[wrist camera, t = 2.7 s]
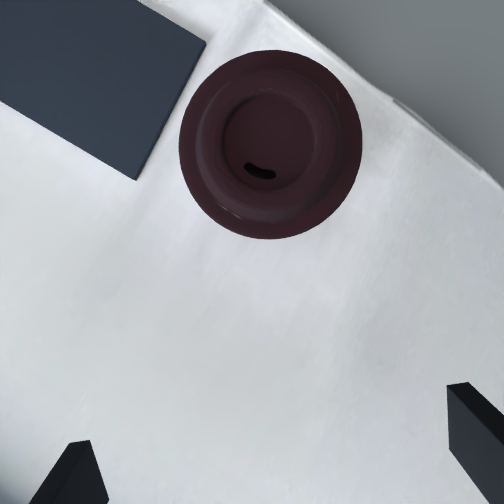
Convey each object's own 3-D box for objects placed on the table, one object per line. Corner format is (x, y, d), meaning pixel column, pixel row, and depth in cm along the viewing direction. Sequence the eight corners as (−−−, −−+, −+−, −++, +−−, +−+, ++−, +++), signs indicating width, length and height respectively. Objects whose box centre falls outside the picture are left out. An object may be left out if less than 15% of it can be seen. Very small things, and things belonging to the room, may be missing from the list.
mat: (-61, 64, 32) (-67, 61, 31) (-4, -80, 30) (-9, -87, 29) (136, 180, 32) (133, 180, 31) (206, 44, 30) (205, 40, 29)
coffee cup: (281, 96, 30) (287, -16, 15) (346, 183, 31) (414, 157, 16) (197, 166, 31) (128, 125, 16) (262, 248, 32) (251, 281, 17)
